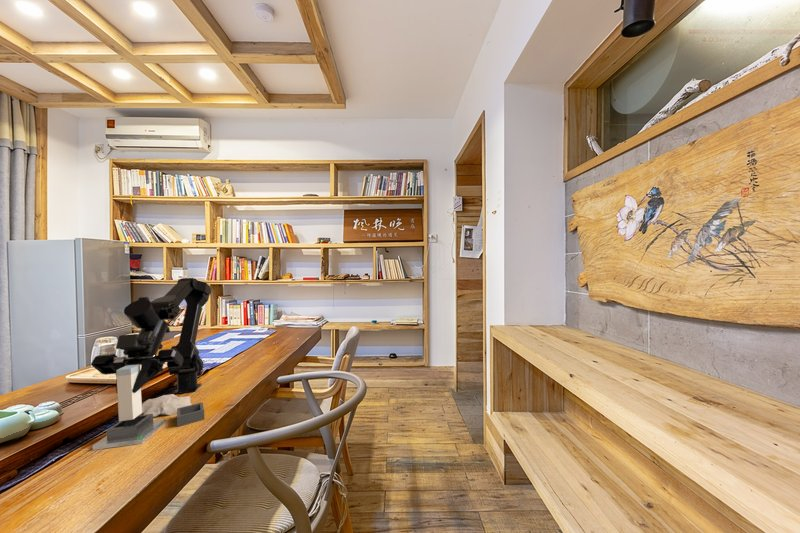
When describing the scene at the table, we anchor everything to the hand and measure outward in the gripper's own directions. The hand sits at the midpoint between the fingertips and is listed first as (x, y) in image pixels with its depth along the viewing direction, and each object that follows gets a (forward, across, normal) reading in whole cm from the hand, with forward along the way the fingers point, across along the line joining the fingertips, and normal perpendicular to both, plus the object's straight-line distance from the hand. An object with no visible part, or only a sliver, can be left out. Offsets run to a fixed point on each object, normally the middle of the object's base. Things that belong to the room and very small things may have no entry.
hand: (125, 392), depth 76 cm
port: (+7, 0, +9) cm, 11 cm away
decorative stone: (-3, +1, +19) cm, 20 cm away
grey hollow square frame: (+3, +11, +13) cm, 17 cm away
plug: (+4, 0, +6) cm, 7 cm away
